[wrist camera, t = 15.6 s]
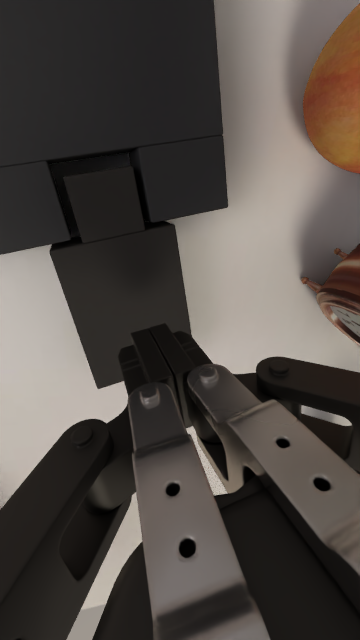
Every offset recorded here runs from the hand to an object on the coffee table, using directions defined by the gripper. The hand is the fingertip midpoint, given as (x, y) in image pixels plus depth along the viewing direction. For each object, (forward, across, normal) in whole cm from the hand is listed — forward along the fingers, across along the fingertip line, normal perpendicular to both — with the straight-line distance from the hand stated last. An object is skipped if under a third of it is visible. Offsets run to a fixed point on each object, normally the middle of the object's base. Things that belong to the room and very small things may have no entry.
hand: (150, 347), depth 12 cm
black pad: (+6, 0, -1) cm, 7 cm away
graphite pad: (+6, 0, -9) cm, 11 cm away
